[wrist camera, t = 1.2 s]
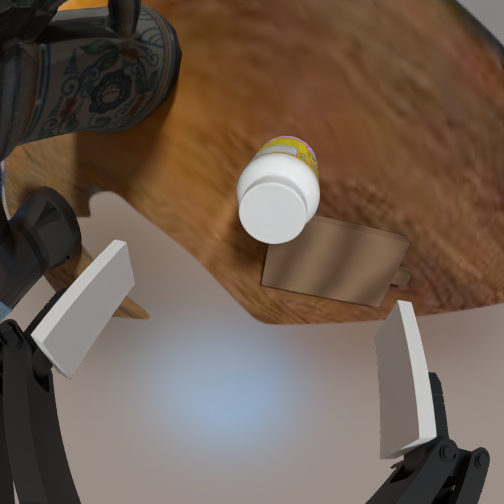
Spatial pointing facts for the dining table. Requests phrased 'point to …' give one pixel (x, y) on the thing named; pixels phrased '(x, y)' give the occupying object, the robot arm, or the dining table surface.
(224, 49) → the dining table surface
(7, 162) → the dining table surface
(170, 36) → the beer stein
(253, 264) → the dining table surface
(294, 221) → the supplement bottle
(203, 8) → the dining table surface
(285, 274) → the walnut board
